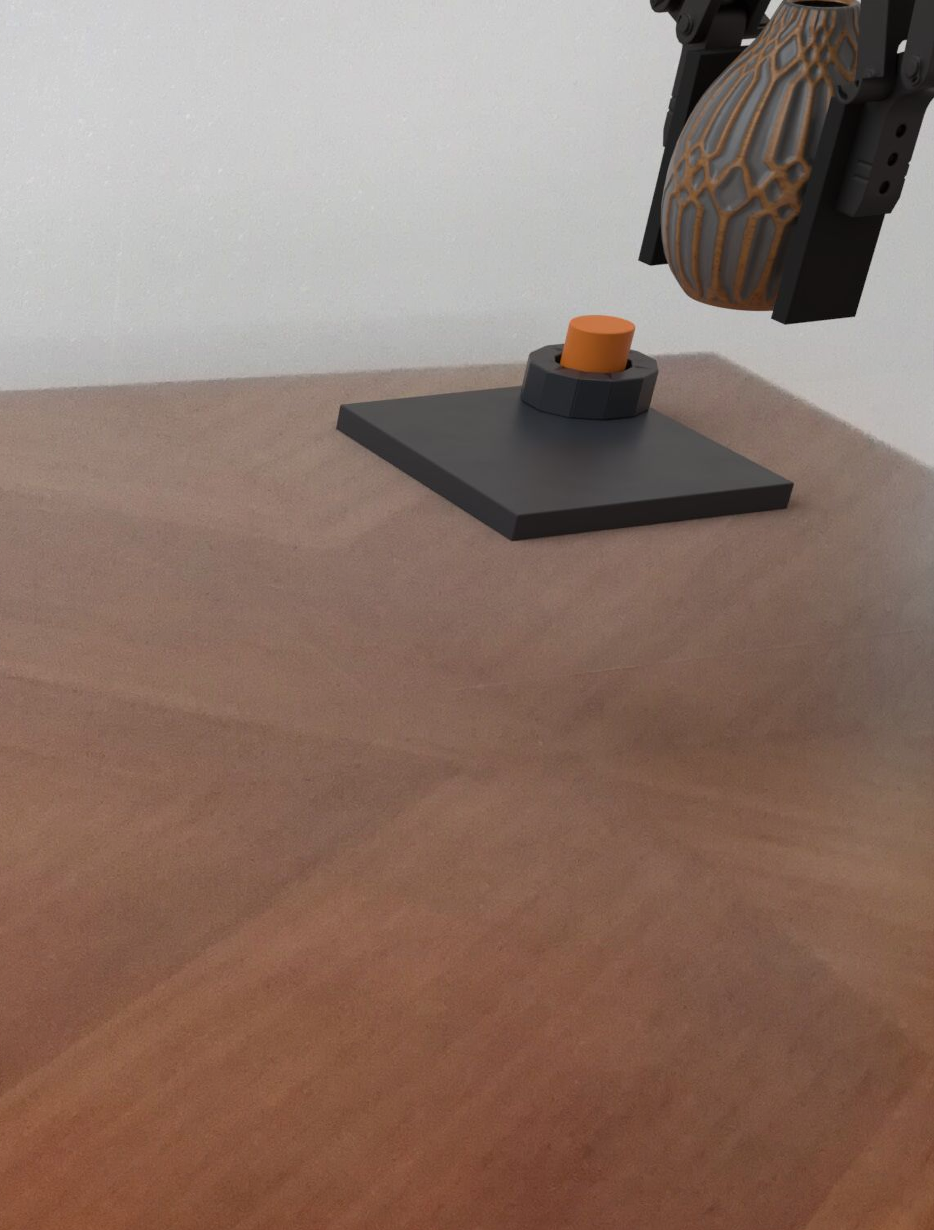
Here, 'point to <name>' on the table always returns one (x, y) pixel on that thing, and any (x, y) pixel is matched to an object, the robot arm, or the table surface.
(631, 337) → the button
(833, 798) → the table surface
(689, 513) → the scale
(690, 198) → the vase
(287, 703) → the table surface
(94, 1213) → the table surface
